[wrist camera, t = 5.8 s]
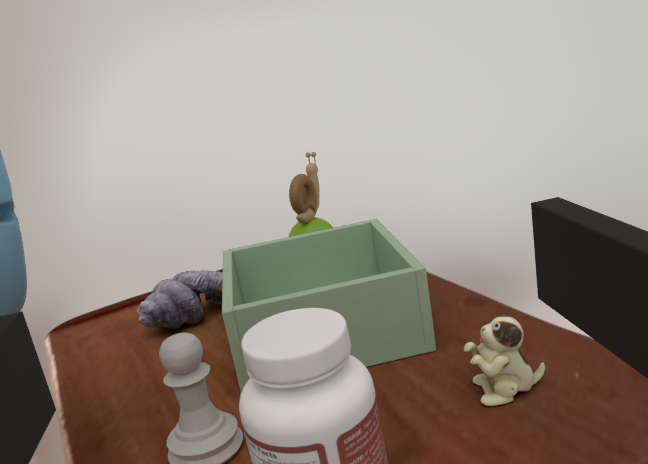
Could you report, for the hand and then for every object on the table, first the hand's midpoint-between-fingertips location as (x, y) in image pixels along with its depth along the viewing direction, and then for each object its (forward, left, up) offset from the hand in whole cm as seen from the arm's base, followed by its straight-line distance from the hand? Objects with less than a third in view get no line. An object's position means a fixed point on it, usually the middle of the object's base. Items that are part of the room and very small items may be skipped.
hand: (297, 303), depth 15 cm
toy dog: (+13, +18, -17) cm, 27 cm away
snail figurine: (+5, +49, -17) cm, 52 cm away
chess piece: (-7, +19, -17) cm, 26 cm away
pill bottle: (0, +10, -17) cm, 19 cm away
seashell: (-9, +40, -17) cm, 45 cm away
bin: (+3, +32, -16) cm, 36 cm away
